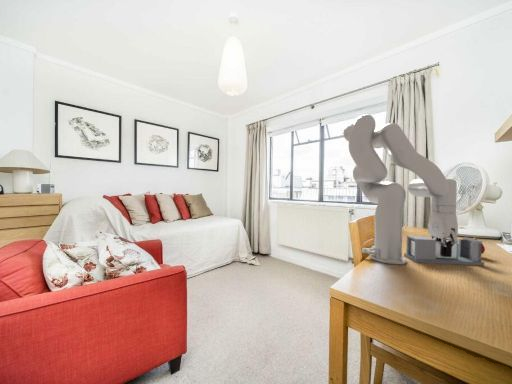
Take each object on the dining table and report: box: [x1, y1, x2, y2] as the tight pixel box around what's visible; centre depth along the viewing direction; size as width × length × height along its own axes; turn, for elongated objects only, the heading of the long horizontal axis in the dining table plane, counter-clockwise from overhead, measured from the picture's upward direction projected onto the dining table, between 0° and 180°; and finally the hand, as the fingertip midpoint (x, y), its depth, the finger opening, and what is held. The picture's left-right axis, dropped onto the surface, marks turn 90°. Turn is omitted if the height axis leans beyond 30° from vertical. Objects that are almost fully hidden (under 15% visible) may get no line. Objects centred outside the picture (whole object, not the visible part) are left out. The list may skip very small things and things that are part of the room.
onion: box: [472, 237, 486, 255], centre depth 92 cm, size 6×6×8 cm
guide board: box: [403, 235, 485, 266], centre depth 86 cm, size 24×8×9 cm, turn 83°
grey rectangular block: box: [410, 240, 459, 259], centre depth 86 cm, size 16×4×6 cm, turn 83°
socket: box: [458, 236, 483, 262], centre depth 85 cm, size 3×7×8 cm, turn 173°
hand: (442, 254), depth 86 cm, fingers closed on grey rectangular block, 3 cm apart
